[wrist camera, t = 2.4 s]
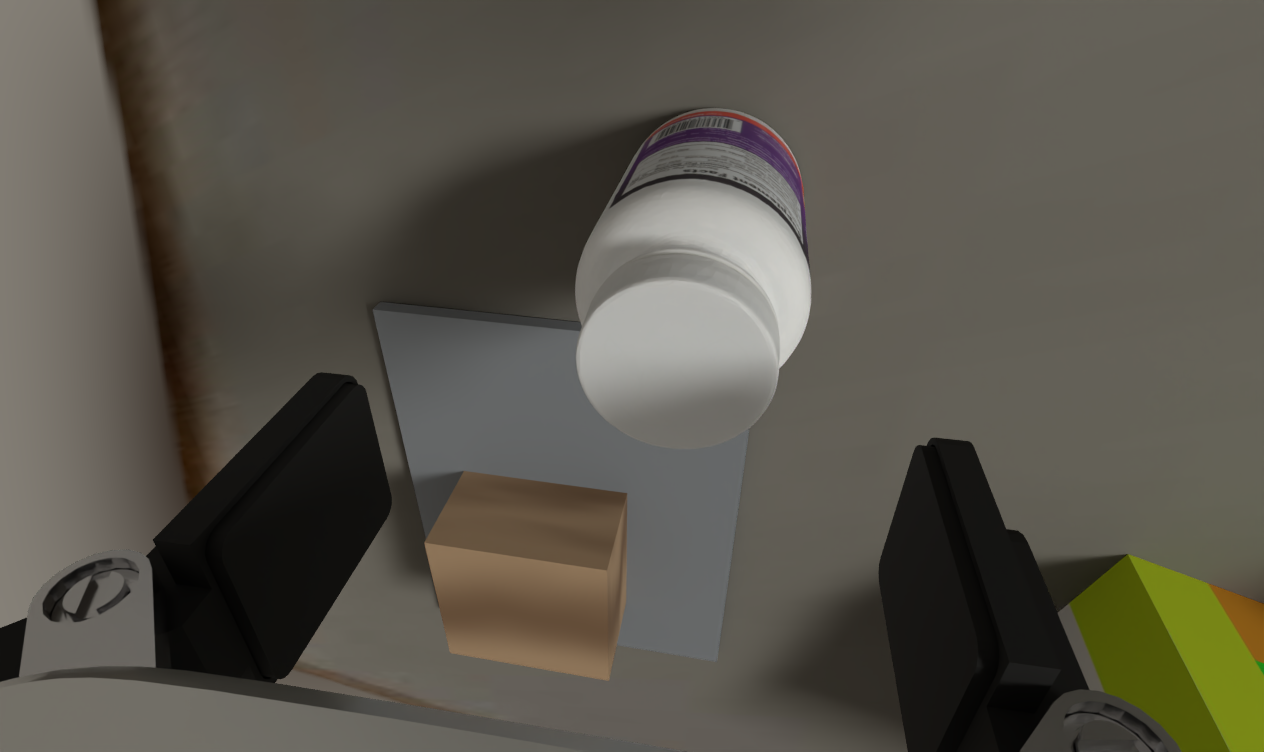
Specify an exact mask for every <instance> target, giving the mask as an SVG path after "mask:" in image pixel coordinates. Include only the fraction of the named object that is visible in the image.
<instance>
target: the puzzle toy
mask: <svg viewBox="0 0 1264 752" xmlns="http://www.w3.org/2000/svg"><path fill="white" fill-rule="evenodd" d="M1058 616H1059V618H1060V620H1061V623H1062V625H1063V628H1064V630H1065V632H1066V635H1067V637H1068V639H1069V642H1070V644H1071V647H1072V649H1073V651H1074V654H1075V656H1076V659H1077V661H1078V663H1079V666H1080V668H1081V671H1082V673H1083V675H1084V678H1085V680H1086V682H1087V685H1088V687H1089V690H1094V691H1101V692H1104V693H1107V694H1110V695H1113V696H1116V697H1119V698H1121V699H1123V700H1125V701H1127V702H1128V703H1130V704H1132V705H1134V706H1136V707H1138V708H1140V709H1141V710H1142V711H1144V712H1145V713H1146V714H1147V715H1149V716H1150V717H1151V718H1152V719H1154V720H1155V721H1156V722H1158V723H1159V724H1160V725H1161V726H1162V727H1163V728H1164V729H1165V731H1166V732H1167V733H1168V734H1169V735H1170V736H1171V737H1172V738H1173V740H1174V741H1175V742H1176V743H1177V745H1178V746H1179V748H1180V750H1181V752H1264V604H1263V603H1260V602H1257V601H1255V600H1252V599H1249V598H1246V597H1244V596H1241V595H1238V594H1236V593H1233V592H1230V591H1227V590H1225V589H1222V588H1219V587H1216V586H1214V585H1211V584H1208V583H1205V582H1203V581H1200V580H1197V579H1195V578H1192V577H1189V576H1186V575H1184V574H1181V573H1178V572H1175V571H1173V570H1170V569H1167V568H1164V567H1162V566H1159V565H1156V564H1154V563H1151V562H1148V561H1145V560H1143V559H1140V558H1137V557H1134V556H1132V555H1129V554H1127V555H1126V556H1125V557H1124V558H1123V559H1121V560H1120V561H1119V562H1118V563H1117V564H1115V565H1114V566H1113V567H1112V568H1111V569H1109V570H1108V571H1107V572H1106V573H1105V574H1103V575H1102V576H1101V577H1100V578H1099V579H1097V580H1096V581H1095V582H1094V583H1093V584H1092V585H1090V586H1089V587H1088V588H1087V589H1086V590H1084V591H1083V592H1082V593H1081V594H1080V595H1078V596H1077V597H1076V598H1075V599H1074V600H1072V601H1071V602H1070V603H1069V604H1068V605H1066V606H1065V607H1064V608H1063V609H1062V610H1060V611H1059V612H1058Z"/></svg>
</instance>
